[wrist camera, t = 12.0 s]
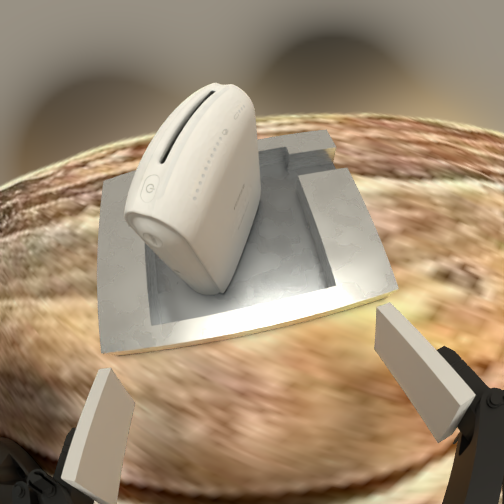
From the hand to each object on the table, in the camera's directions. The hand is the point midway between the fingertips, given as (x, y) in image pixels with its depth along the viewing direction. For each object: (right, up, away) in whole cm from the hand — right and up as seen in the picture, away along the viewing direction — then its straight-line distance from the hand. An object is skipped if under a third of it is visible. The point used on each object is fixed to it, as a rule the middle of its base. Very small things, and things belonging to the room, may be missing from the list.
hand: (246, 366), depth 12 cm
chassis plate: (-2, +6, +11) cm, 13 cm away
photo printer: (-2, +6, +11) cm, 13 cm away
